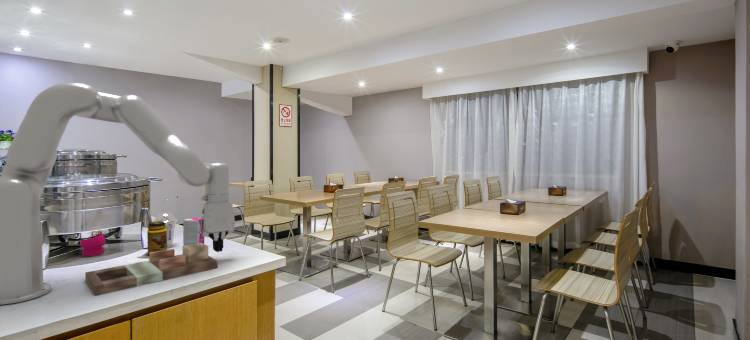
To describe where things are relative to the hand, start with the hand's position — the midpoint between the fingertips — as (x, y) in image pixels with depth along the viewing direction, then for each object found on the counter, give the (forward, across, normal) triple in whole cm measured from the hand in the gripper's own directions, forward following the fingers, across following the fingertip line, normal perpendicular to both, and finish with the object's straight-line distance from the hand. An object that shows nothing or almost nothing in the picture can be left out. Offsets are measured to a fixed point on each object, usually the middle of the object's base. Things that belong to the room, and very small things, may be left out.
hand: (218, 250), depth 126 cm
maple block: (+1, -8, 0) cm, 8 cm away
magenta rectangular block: (+4, -29, +38) cm, 48 cm away
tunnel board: (+3, -20, 0) cm, 20 cm away
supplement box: (+4, 0, +23) cm, 23 cm away
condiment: (+4, -13, +23) cm, 27 cm away
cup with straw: (+4, -7, +32) cm, 33 cm away
